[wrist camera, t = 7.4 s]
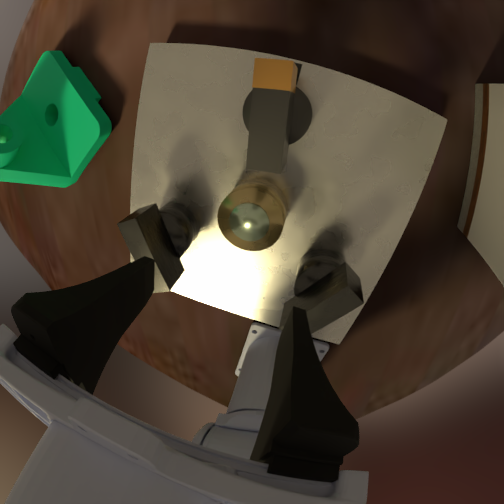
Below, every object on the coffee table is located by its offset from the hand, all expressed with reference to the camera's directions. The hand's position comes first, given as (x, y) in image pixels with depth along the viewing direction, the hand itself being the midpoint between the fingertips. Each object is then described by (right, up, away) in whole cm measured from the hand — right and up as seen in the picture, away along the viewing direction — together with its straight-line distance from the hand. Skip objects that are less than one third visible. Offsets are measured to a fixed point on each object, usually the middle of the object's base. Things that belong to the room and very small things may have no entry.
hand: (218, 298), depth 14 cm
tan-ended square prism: (+3, +11, +2) cm, 11 cm away
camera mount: (-15, +16, +7) cm, 23 cm away
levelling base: (+2, +6, +7) cm, 10 cm away
